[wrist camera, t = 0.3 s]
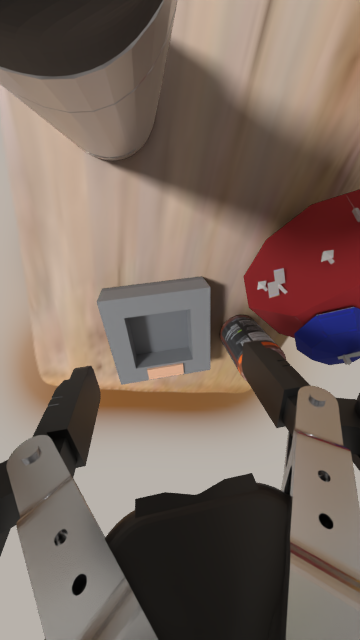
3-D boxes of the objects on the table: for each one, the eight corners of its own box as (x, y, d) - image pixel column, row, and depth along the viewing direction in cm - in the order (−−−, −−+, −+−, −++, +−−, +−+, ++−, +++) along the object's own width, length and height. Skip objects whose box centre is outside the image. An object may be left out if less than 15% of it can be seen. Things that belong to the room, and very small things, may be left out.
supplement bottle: (242, 348, 36) (280, 404, 26) (212, 340, 34) (240, 397, 25) (261, 319, 34) (310, 368, 24) (230, 308, 32) (269, 357, 22)
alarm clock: (252, 306, 32) (379, 432, 15) (213, 272, 29) (321, 387, 11) (336, 224, 28) (646, 268, 11) (303, 171, 24) (692, 111, 7)
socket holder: (102, 288, 27) (96, 303, 24) (202, 276, 29) (211, 288, 25) (123, 365, 34) (121, 386, 30) (203, 352, 35) (210, 370, 31)
